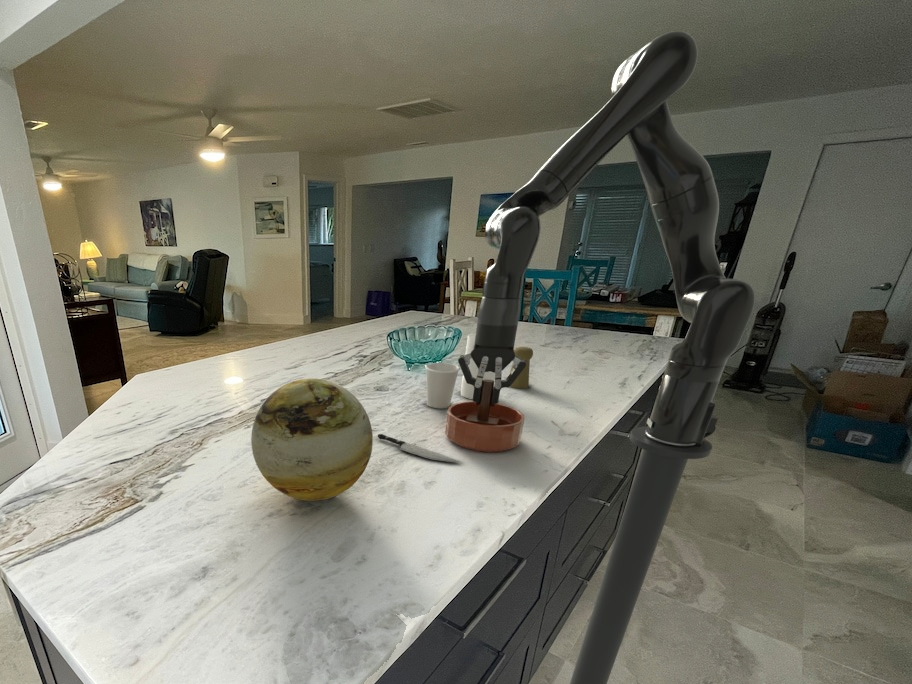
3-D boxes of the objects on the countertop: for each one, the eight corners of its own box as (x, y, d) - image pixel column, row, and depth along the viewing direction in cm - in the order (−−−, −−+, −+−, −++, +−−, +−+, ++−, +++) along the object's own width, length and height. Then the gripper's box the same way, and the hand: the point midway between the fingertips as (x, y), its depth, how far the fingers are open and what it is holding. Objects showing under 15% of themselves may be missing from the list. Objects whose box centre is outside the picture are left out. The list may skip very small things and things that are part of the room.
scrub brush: (497, 432, 102) (505, 380, 98) (494, 438, 98) (503, 384, 94) (466, 428, 104) (473, 376, 100) (463, 434, 101) (470, 381, 96)
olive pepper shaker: (522, 389, 132) (529, 350, 127) (502, 385, 136) (508, 347, 131) (532, 385, 135) (539, 347, 131) (512, 381, 139) (518, 344, 135)
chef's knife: (452, 469, 88) (460, 462, 90) (453, 463, 88) (460, 457, 90) (370, 441, 100) (378, 436, 102) (370, 436, 100) (379, 431, 102)
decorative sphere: (271, 463, 91) (265, 363, 83) (373, 470, 88) (378, 366, 80) (240, 519, 74) (229, 398, 65) (366, 530, 70) (371, 404, 62)
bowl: (517, 430, 105) (522, 405, 102) (521, 458, 92) (526, 430, 89) (447, 422, 110) (450, 398, 107) (441, 448, 97) (444, 421, 94)
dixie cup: (432, 411, 116) (436, 372, 112) (415, 401, 124) (419, 364, 119) (461, 407, 119) (466, 369, 115) (443, 398, 126) (447, 361, 122)
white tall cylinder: (473, 388, 133) (481, 331, 126) (498, 396, 127) (508, 336, 120) (454, 394, 129) (461, 335, 122) (478, 401, 123) (487, 340, 116)
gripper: (459, 322, 91) (449, 406, 98) (537, 325, 87) (521, 413, 94) (461, 316, 97) (452, 396, 104) (534, 319, 93) (519, 402, 100)
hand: (484, 404), depth 99 cm, fingers closed on scrub brush, 2 cm apart
